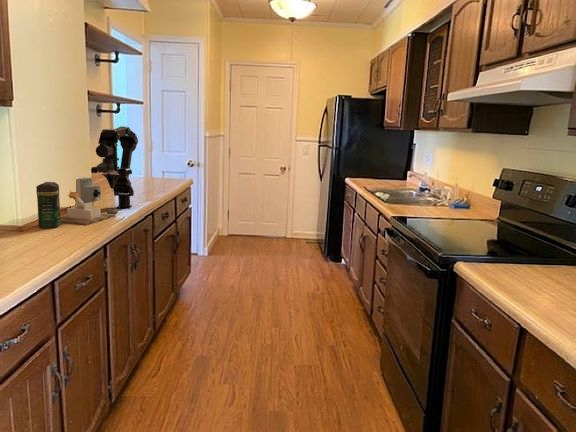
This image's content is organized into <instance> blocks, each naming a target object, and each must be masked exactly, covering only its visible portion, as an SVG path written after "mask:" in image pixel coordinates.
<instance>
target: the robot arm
mask: <svg viewBox="0 0 576 432" xmlns="http://www.w3.org/2000/svg"><path fill="white" fill-rule="evenodd" d="M99 134H100V135H99V138H98V142H97V143H98V146H96V148H95V154H96V156H98V157H99V158H102V162H100V163H99V164H97V165H96V166H92V167H91V168H90V172H91V174H97V173H98V174H100V173H102V174H101V175H102V176H103V177H104V178H105V179H106V180H107V182H108V184H109V187H110V189H111V190H113V191H112V192H113V196H114V197H116V196H117V197H118V206H116V209H130V208H132V207H133V204H131V197H133V196H135V195H134V194H135V190H134V187H132V182H131V180H130V177H129V176H130V175H133V170H132V168H131V163H132V157H133V152H134V151H135V150H136V148H137V145H138V143H139V139H138V136H137V134H136V133H135V132H134V131H132V130H131V129H130V127H128V126H119V127H116V128H113V129H108V128H107V129H106V128H105V129H102V130H101V132H100V133H99ZM118 142H119V143H120V147H121V149H122V153H121V160H120V158H119V157H118V146H119V145H118V144H117V143H118ZM118 161H120V166H118V164H119V163H118Z"/></svg>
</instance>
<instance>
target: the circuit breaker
mask: <svg viewBox="0 0 576 432" xmlns="http://www.w3.org/2000/svg"><path fill="white" fill-rule="evenodd" d="M81 177H82V178H78V179H76V192H77V193H78V194H79V198H80V199H81V200H82V201H83V202H84V203H89V202H92V207H94V202H98V201H101V200H102V198H101V197H102V196H101V195H102V193H101V185H97V184H93V177H85V176H81Z"/></svg>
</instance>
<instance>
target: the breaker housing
mask: <svg viewBox="0 0 576 432" xmlns="http://www.w3.org/2000/svg"><path fill="white" fill-rule="evenodd" d="M101 213H102V212H101V208H100V207H95V206H93V207H92V202H89V203H85V204H83V208H81V207H80V206H79V205H78V204H77V203H75V207H71V208H70V207H67V208H66V215H67V217H71V218H81V219H94V218H97V217H100V216H101Z"/></svg>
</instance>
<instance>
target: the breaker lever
mask: <svg viewBox="0 0 576 432" xmlns="http://www.w3.org/2000/svg"><path fill="white" fill-rule="evenodd" d="M68 197H69V199H71V198H73V199H74V200H75V202H76V203H77V204H78V205H79V206H80V207H81V208H83V204H85V203H84V202H83V201H82V200H81V199H80V198H79V194H78V193H77V192H71V191H70V192H69V193H68Z"/></svg>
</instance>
